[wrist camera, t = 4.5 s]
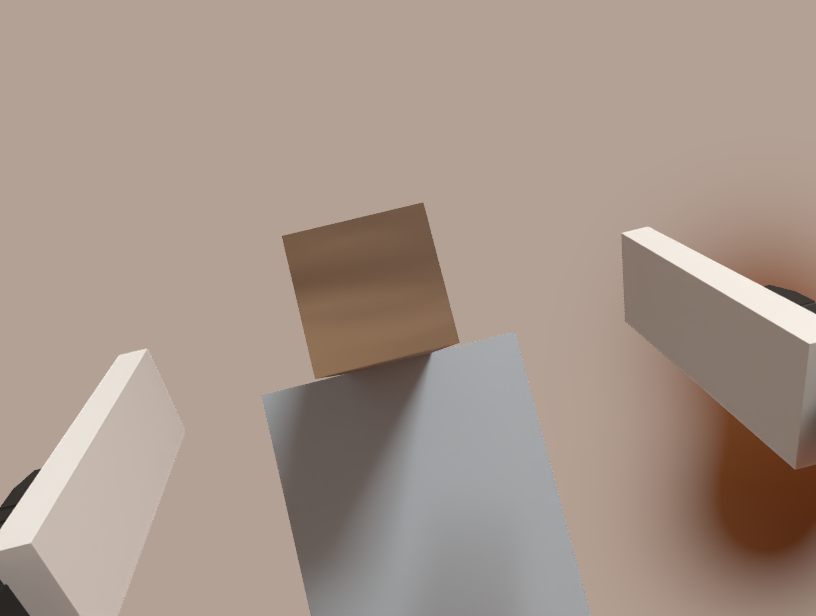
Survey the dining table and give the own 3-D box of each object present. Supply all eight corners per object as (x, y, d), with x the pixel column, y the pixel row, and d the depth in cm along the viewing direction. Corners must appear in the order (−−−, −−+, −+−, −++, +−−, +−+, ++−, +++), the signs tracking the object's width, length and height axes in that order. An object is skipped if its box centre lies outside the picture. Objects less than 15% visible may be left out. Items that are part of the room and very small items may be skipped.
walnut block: (459, 342, 15) (423, 202, 16) (314, 378, 15) (281, 236, 16) (418, 357, 41) (404, 304, 42) (364, 371, 41) (351, 317, 41)
